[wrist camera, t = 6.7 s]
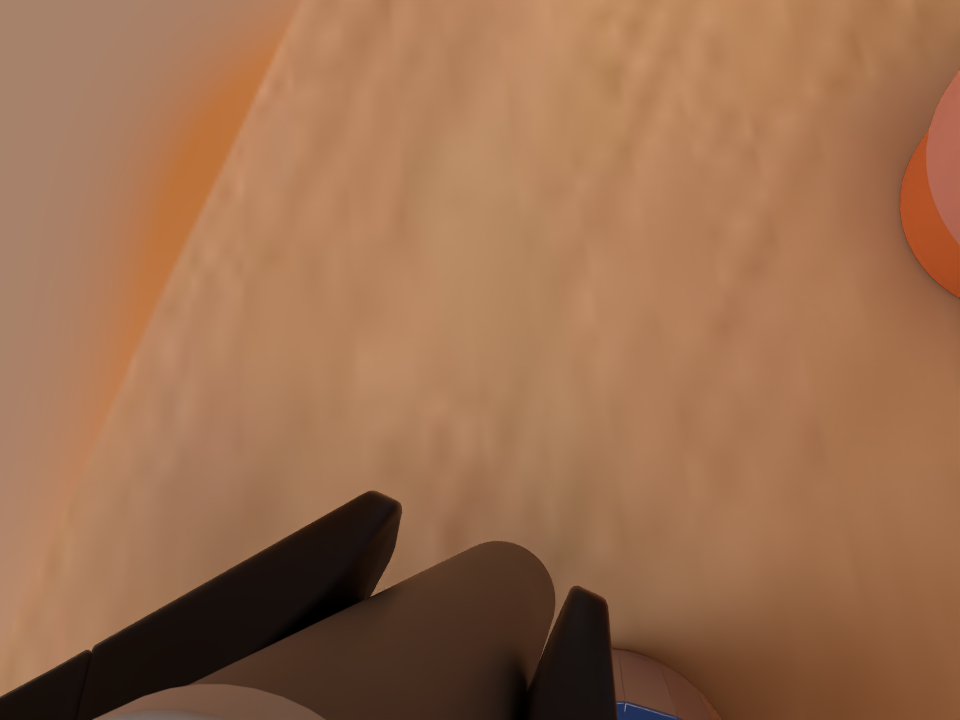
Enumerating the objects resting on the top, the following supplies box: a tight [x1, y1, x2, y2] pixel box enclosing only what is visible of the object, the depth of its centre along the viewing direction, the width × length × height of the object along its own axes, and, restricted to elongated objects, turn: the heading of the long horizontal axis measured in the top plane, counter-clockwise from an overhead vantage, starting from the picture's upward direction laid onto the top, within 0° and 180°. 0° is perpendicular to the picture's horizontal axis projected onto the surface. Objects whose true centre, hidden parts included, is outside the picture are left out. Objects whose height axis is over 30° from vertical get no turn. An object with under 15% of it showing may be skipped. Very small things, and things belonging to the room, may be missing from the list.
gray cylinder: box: [93, 541, 555, 720], centre depth 9 cm, size 2×2×12 cm
